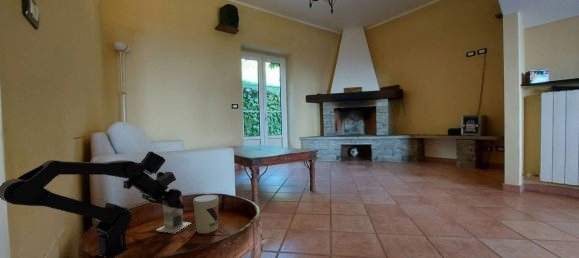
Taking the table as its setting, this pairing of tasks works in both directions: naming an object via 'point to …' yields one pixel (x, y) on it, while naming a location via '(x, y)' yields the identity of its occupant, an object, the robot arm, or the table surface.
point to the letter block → (173, 216)
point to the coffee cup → (206, 213)
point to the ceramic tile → (163, 229)
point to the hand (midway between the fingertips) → (176, 206)
